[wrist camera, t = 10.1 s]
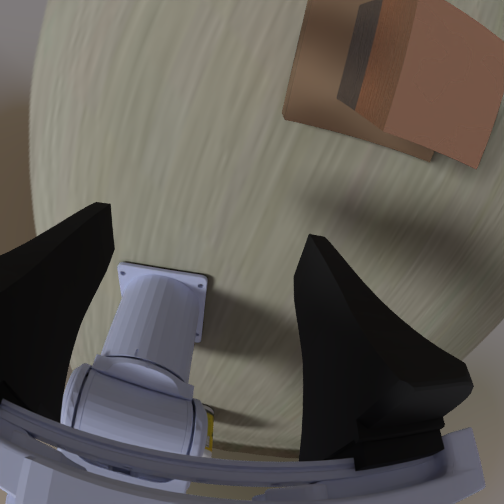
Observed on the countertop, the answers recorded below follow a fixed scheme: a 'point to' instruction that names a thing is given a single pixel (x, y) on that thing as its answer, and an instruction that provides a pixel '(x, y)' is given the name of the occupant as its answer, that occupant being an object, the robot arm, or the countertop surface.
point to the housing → (425, 75)
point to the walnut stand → (332, 77)
